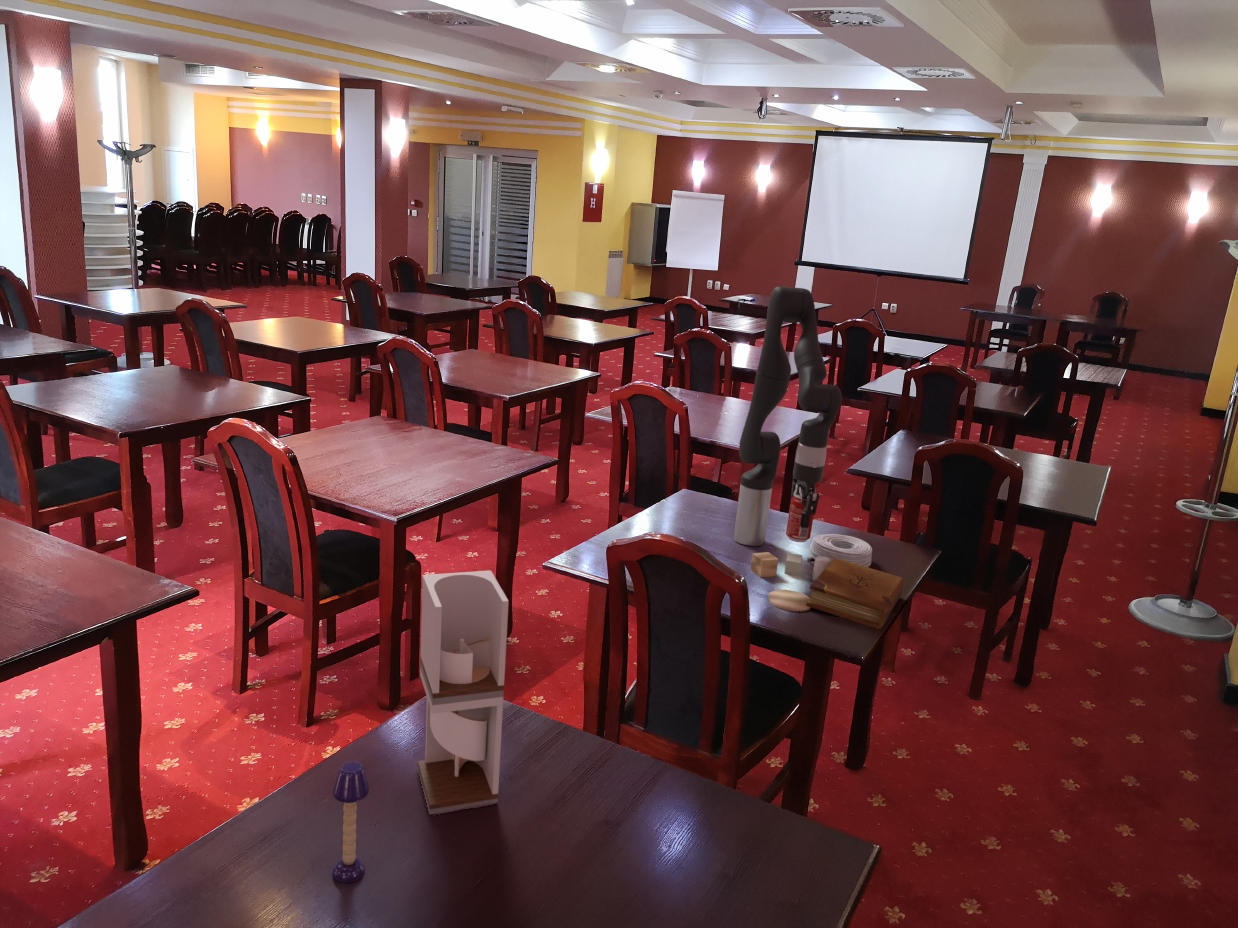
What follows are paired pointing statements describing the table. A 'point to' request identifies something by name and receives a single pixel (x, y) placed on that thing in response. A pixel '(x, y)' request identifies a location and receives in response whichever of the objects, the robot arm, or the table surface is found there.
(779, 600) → the coaster
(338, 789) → the toy lamp
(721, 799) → the table surface
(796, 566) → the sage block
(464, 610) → the display case
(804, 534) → the beverage can
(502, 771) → the table surface
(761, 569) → the oak block
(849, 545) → the cable
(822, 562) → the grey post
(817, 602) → the diary
